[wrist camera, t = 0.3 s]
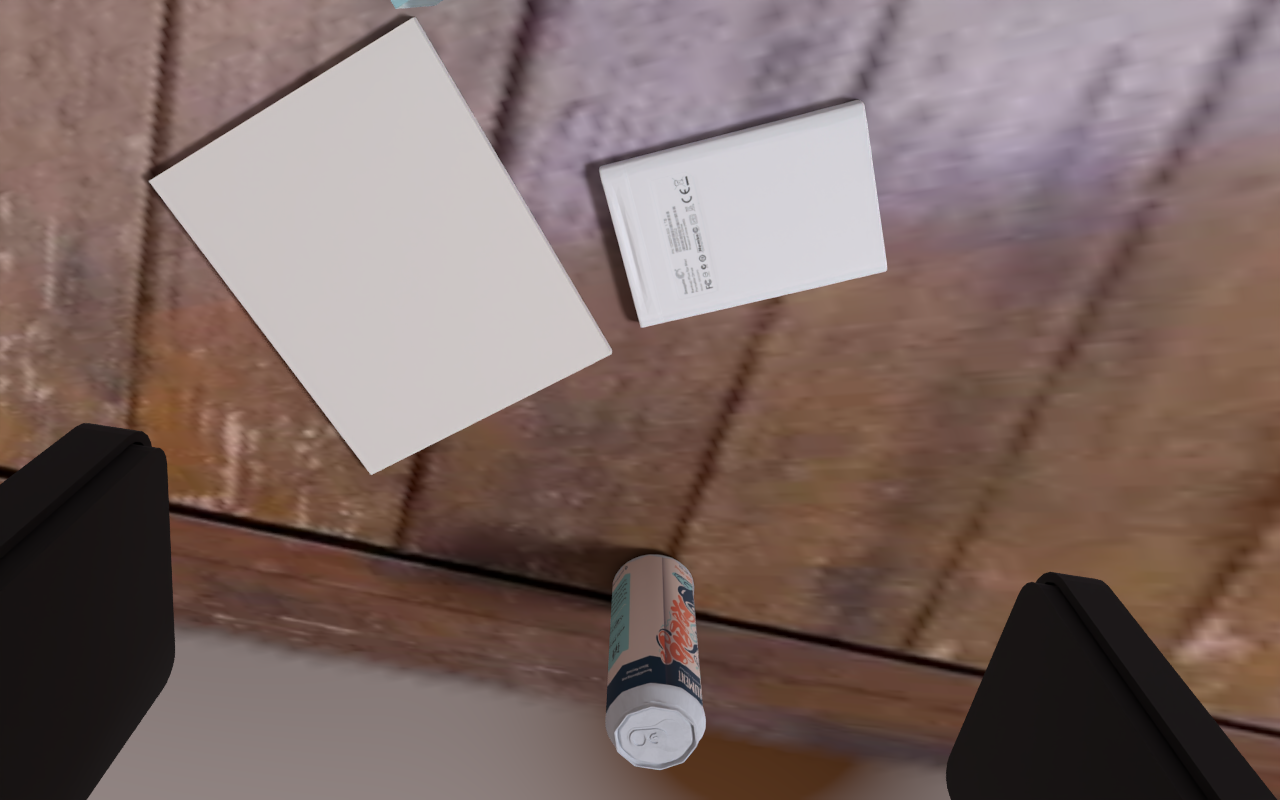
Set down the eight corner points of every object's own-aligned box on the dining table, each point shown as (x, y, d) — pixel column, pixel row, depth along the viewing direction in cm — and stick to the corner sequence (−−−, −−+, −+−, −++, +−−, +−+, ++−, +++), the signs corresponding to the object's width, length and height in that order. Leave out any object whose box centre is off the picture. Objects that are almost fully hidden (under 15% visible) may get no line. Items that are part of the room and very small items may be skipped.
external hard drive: (880, 263, 45) (640, 319, 47) (857, 97, 42) (599, 163, 43) (888, 272, 44) (640, 330, 45) (864, 101, 40) (597, 169, 42)
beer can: (697, 612, 54) (711, 772, 43) (617, 619, 54) (611, 780, 43) (690, 545, 52) (702, 694, 41) (607, 552, 52) (598, 703, 41)
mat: (154, 178, 43) (148, 181, 42) (415, 17, 40) (412, 17, 39) (374, 469, 50) (371, 475, 49) (611, 349, 47) (611, 354, 46)
